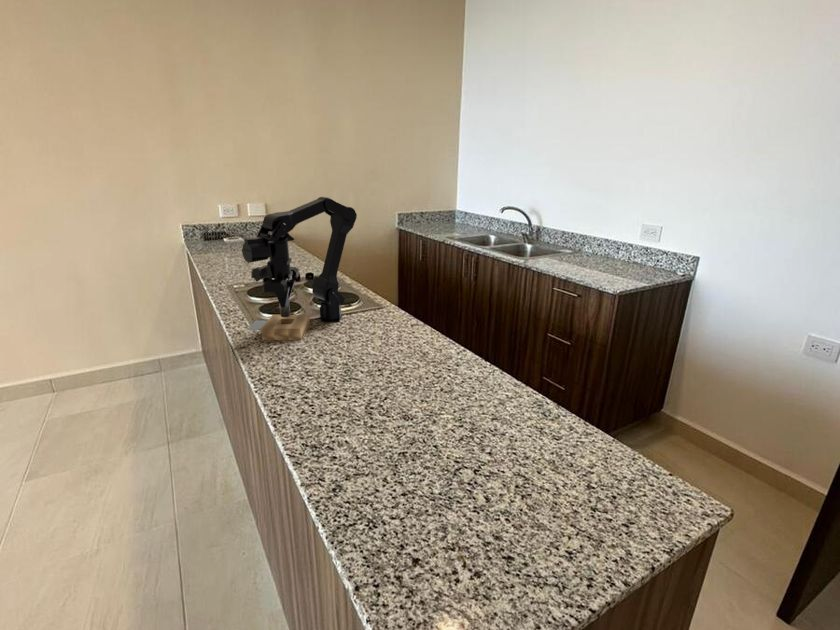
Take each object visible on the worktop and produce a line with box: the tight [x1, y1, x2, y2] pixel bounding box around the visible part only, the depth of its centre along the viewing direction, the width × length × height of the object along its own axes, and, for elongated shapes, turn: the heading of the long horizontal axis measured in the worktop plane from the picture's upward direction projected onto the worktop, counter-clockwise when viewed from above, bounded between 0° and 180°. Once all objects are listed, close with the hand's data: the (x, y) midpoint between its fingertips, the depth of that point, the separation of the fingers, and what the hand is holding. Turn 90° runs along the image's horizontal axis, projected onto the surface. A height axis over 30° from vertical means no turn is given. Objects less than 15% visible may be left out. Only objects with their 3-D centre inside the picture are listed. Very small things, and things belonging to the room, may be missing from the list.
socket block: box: [260, 314, 311, 341], centre depth 148 cm, size 12×12×4 cm
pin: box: [278, 297, 291, 317], centre depth 145 cm, size 3×3×10 cm
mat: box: [247, 319, 268, 331], centre depth 154 cm, size 7×8×1 cm
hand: (284, 305), depth 146 cm, fingers closed on pin, 3 cm apart
